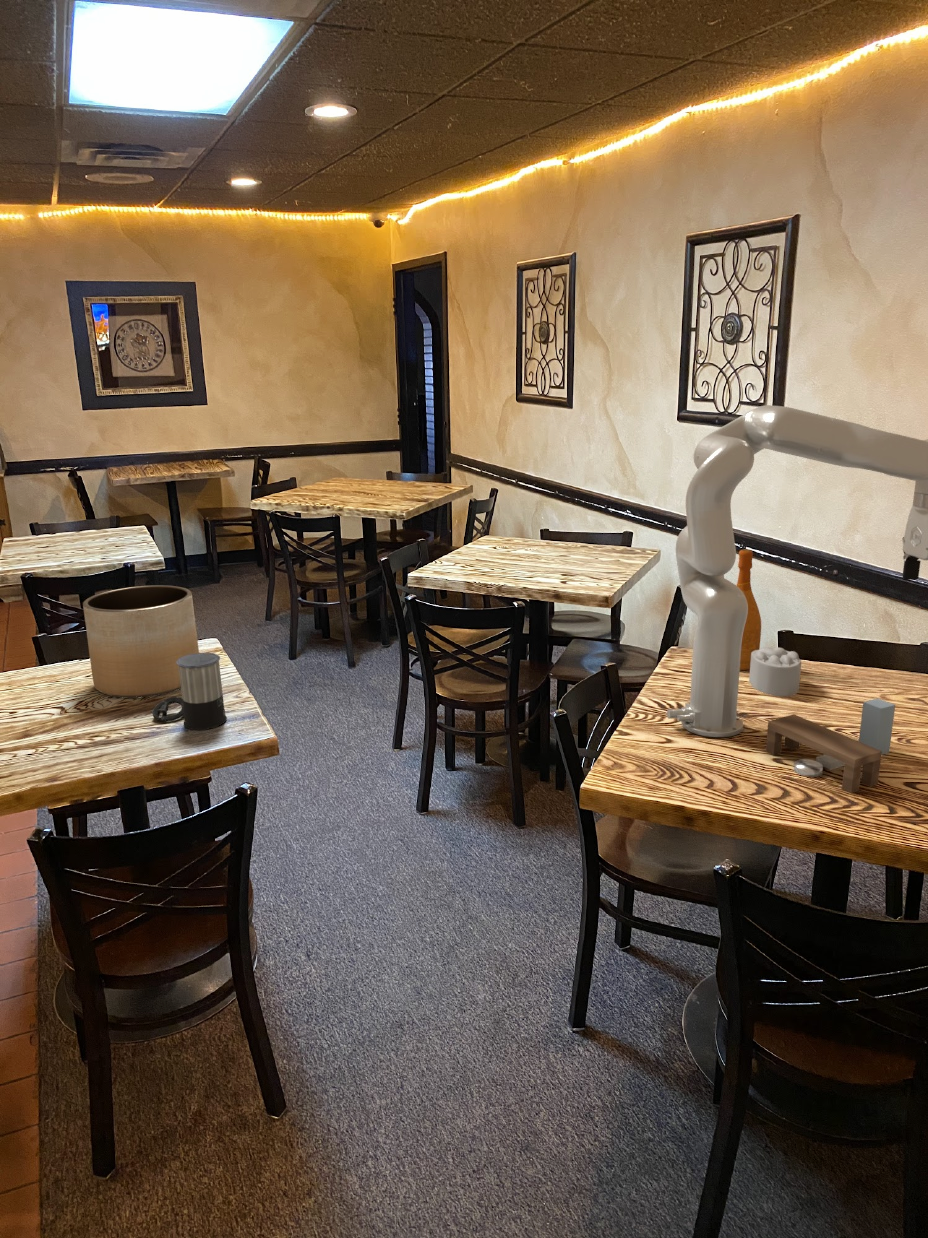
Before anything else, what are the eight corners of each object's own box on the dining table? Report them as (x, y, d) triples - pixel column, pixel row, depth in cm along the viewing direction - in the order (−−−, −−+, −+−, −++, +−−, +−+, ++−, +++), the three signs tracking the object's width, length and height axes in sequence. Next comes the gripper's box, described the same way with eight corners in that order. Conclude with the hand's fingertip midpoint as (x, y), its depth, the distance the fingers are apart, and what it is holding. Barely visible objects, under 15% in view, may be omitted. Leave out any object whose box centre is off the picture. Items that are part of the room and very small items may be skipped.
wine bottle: (750, 658, 224) (758, 545, 216) (764, 671, 215) (773, 553, 207) (712, 659, 224) (720, 546, 216) (725, 672, 215) (733, 554, 206)
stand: (851, 793, 153) (854, 759, 151) (765, 751, 170) (768, 721, 168) (877, 784, 156) (882, 751, 154) (791, 744, 173) (794, 714, 171)
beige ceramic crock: (101, 671, 224) (89, 589, 218) (202, 661, 231) (194, 581, 225) (87, 706, 201) (73, 615, 195) (200, 694, 207) (191, 605, 201)
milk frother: (227, 728, 187) (220, 663, 183) (150, 737, 183) (142, 671, 179) (226, 705, 200) (219, 644, 196) (154, 713, 196) (146, 651, 192)
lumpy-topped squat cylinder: (788, 677, 211) (791, 643, 208) (806, 696, 198) (810, 661, 196) (745, 677, 211) (747, 644, 209) (761, 697, 199) (763, 661, 196)
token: (802, 779, 159) (802, 771, 159) (788, 767, 164) (789, 760, 164) (827, 777, 160) (828, 769, 159) (813, 765, 165) (814, 758, 164)
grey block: (871, 745, 172) (877, 698, 169) (889, 752, 169) (895, 704, 166) (814, 762, 165) (819, 713, 162) (831, 770, 162) (837, 721, 159)
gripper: (893, 496, 181) (883, 575, 185) (940, 508, 164) (929, 595, 169) (927, 495, 181) (917, 574, 186) (979, 507, 164) (966, 594, 169)
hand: (923, 584), depth 177 cm, fingers open, 9 cm apart
